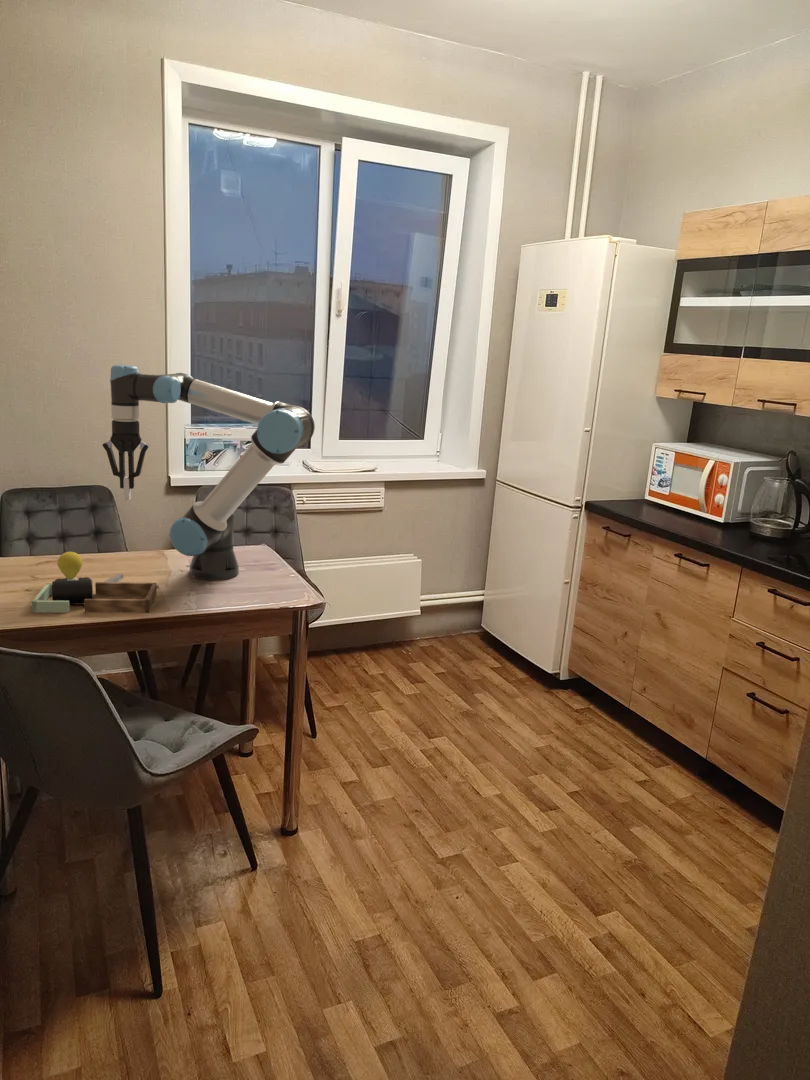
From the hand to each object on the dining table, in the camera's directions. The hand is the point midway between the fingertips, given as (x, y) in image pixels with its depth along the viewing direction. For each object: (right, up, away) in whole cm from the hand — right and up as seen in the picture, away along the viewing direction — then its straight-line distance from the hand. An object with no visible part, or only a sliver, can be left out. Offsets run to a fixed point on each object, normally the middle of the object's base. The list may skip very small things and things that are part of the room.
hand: (127, 499), depth 227 cm
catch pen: (-12, -29, -18) cm, 37 cm away
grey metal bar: (-5, -25, 0) cm, 26 cm away
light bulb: (-15, -26, -4) cm, 30 cm away
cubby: (+4, -30, -15) cm, 34 cm away
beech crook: (+5, -27, -4) cm, 28 cm away
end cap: (-9, -30, -17) cm, 36 cm away
